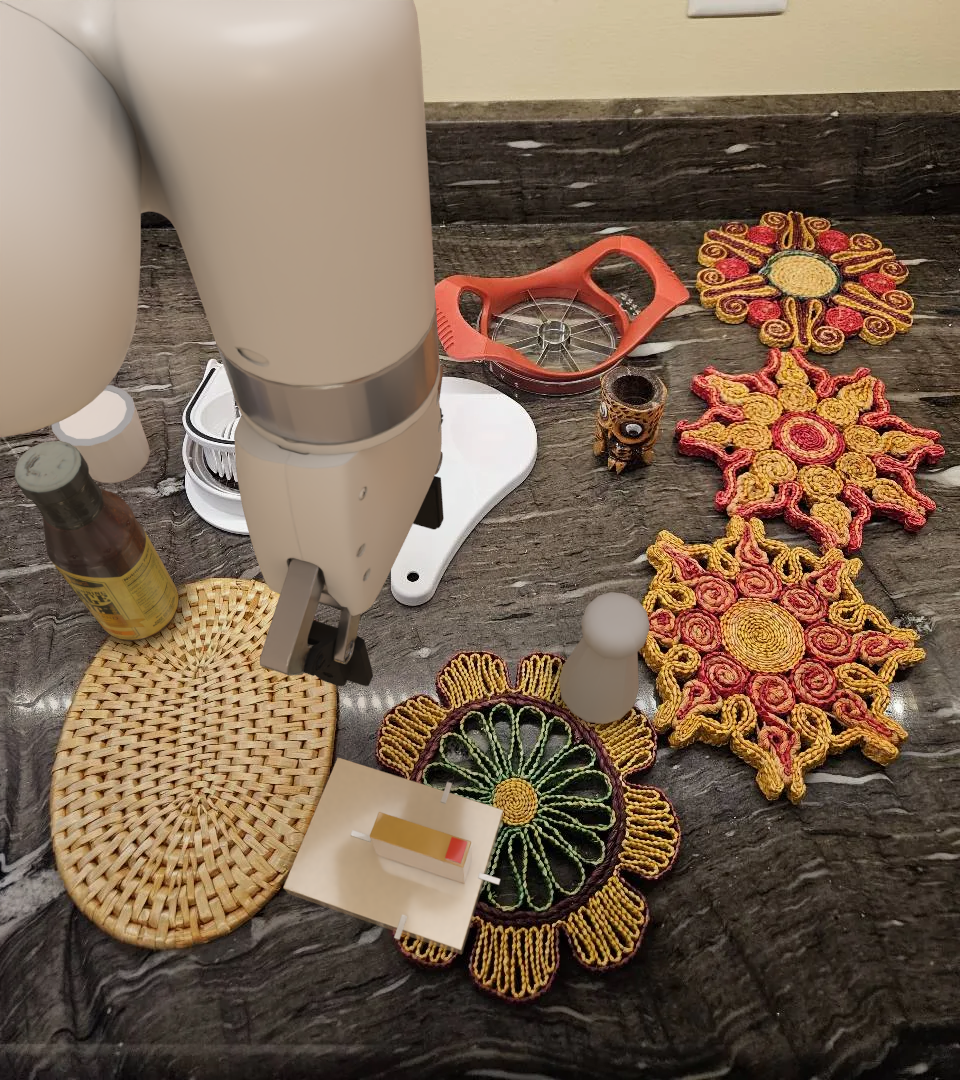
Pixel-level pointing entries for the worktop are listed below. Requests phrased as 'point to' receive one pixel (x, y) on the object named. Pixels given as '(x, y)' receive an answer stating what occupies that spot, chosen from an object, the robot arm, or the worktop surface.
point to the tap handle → (421, 847)
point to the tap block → (383, 884)
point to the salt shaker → (605, 659)
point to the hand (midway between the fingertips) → (380, 591)
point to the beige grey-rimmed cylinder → (107, 436)
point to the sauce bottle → (97, 543)
